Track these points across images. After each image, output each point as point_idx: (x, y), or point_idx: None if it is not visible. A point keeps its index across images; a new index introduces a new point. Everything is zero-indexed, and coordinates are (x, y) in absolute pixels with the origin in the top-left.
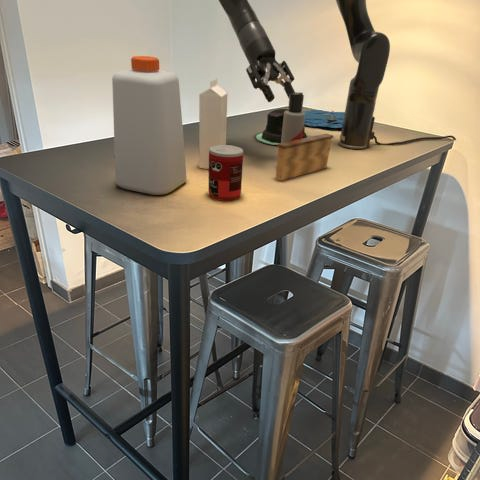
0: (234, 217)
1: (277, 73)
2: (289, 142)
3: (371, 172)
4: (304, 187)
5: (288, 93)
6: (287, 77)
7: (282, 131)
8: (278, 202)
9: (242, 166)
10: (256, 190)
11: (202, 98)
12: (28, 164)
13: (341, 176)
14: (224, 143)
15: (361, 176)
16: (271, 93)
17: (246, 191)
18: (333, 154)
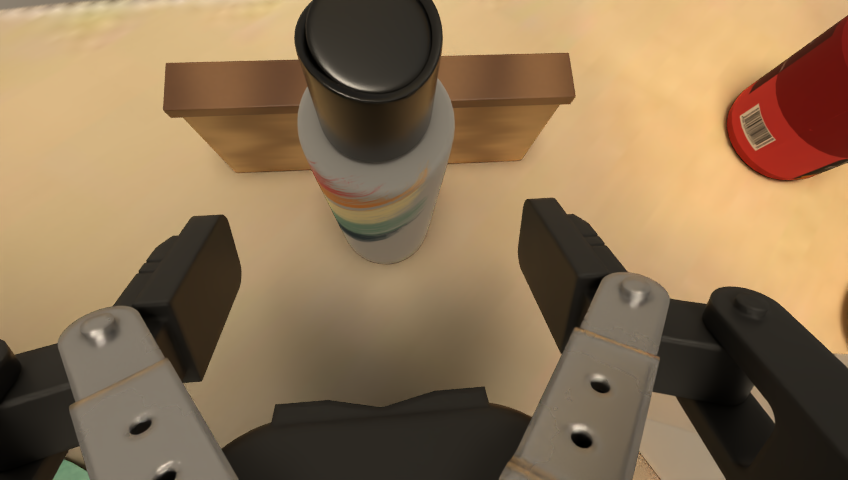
0: (820, 5)
1: (270, 445)
2: (502, 84)
3: (121, 21)
4: (485, 51)
5: (221, 294)
6: (87, 370)
7: (433, 201)
8: (648, 11)
9: (817, 39)
10: (652, 114)
11: None
12: None
13: (271, 53)
14: (677, 402)
15: (202, 15)
16: (565, 212)
17: (688, 124)
18: (16, 267)
